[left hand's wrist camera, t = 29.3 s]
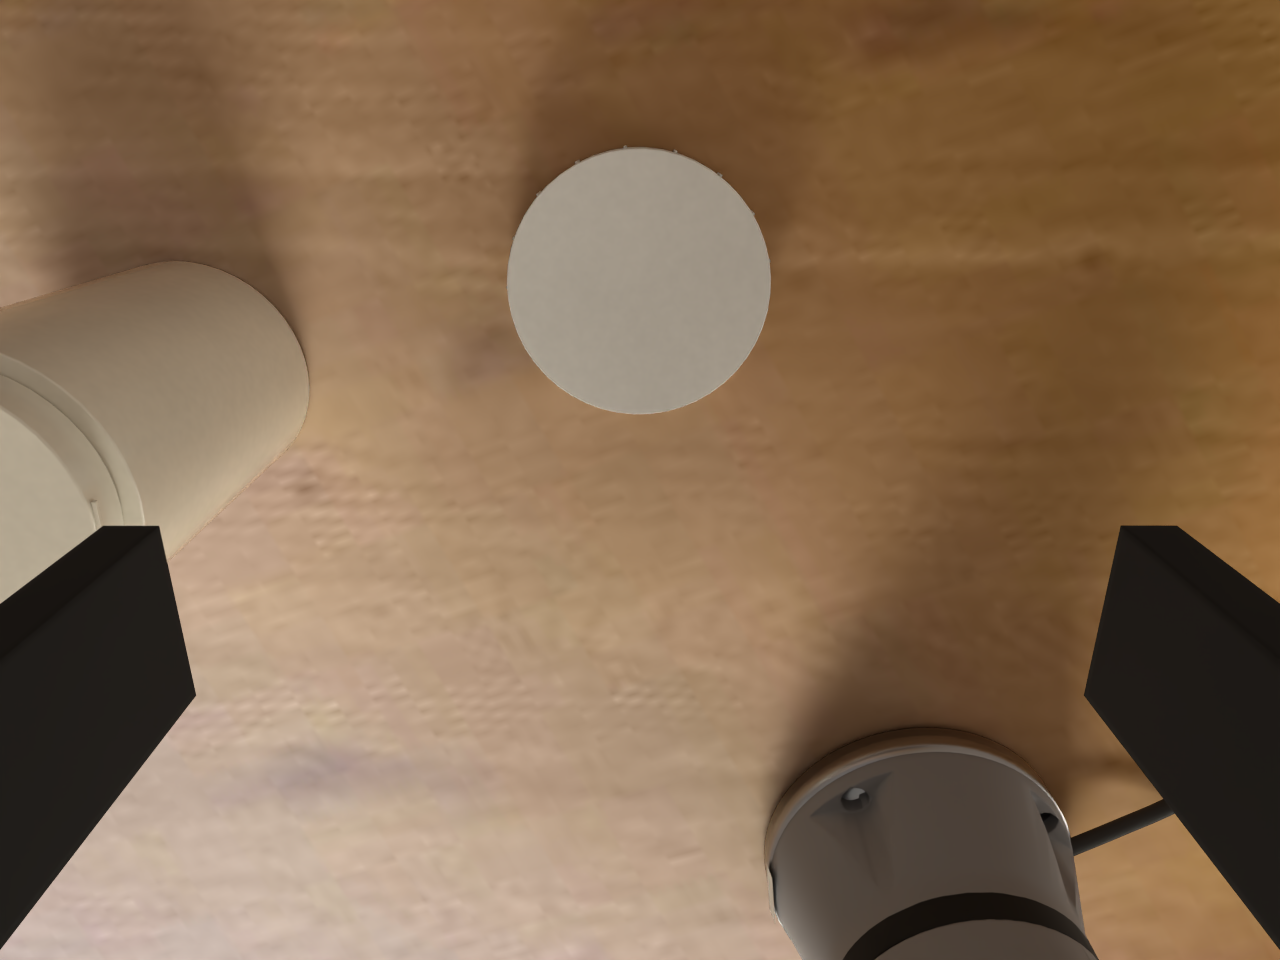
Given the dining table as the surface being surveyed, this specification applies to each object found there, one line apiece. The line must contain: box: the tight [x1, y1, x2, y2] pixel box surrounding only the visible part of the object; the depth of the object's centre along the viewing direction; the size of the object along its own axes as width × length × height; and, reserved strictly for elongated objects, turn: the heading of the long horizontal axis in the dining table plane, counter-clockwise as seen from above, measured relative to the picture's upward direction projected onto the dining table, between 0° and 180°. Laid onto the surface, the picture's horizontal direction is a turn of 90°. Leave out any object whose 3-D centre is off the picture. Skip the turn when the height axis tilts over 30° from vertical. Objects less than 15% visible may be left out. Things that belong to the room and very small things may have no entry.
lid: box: [507, 145, 771, 414], centre depth 36 cm, size 10×10×2 cm
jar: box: [0, 261, 309, 603], centre depth 31 cm, size 10×10×15 cm
